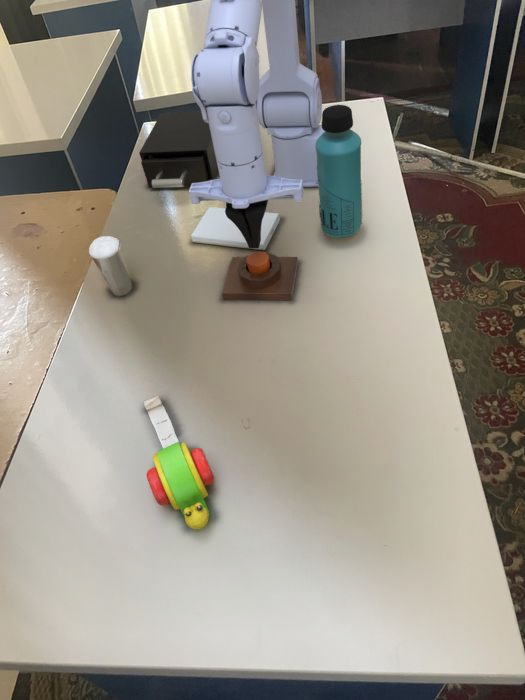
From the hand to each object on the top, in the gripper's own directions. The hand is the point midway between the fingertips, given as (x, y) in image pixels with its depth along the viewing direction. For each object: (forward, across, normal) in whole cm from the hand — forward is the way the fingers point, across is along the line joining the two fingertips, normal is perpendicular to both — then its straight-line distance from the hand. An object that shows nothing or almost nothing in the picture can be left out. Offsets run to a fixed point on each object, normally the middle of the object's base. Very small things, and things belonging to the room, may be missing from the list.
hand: (254, 243), depth 79 cm
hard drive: (+7, -6, +12) cm, 15 cm away
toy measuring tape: (+7, -5, -31) cm, 32 cm away
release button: (+4, 0, 0) cm, 4 cm away
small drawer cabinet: (+7, -19, +33) cm, 39 cm away
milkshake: (+7, -21, -2) cm, 22 cm away
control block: (+7, 0, 0) cm, 7 cm away
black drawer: (+6, -19, +29) cm, 35 cm away
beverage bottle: (+7, +11, +11) cm, 17 cm away
